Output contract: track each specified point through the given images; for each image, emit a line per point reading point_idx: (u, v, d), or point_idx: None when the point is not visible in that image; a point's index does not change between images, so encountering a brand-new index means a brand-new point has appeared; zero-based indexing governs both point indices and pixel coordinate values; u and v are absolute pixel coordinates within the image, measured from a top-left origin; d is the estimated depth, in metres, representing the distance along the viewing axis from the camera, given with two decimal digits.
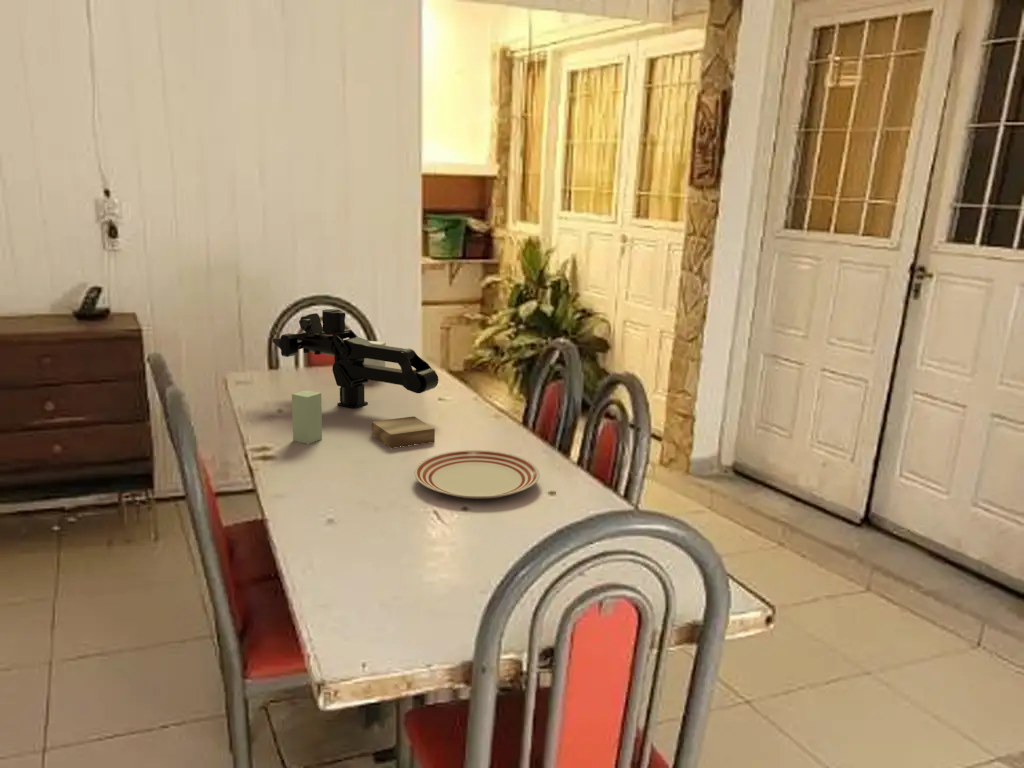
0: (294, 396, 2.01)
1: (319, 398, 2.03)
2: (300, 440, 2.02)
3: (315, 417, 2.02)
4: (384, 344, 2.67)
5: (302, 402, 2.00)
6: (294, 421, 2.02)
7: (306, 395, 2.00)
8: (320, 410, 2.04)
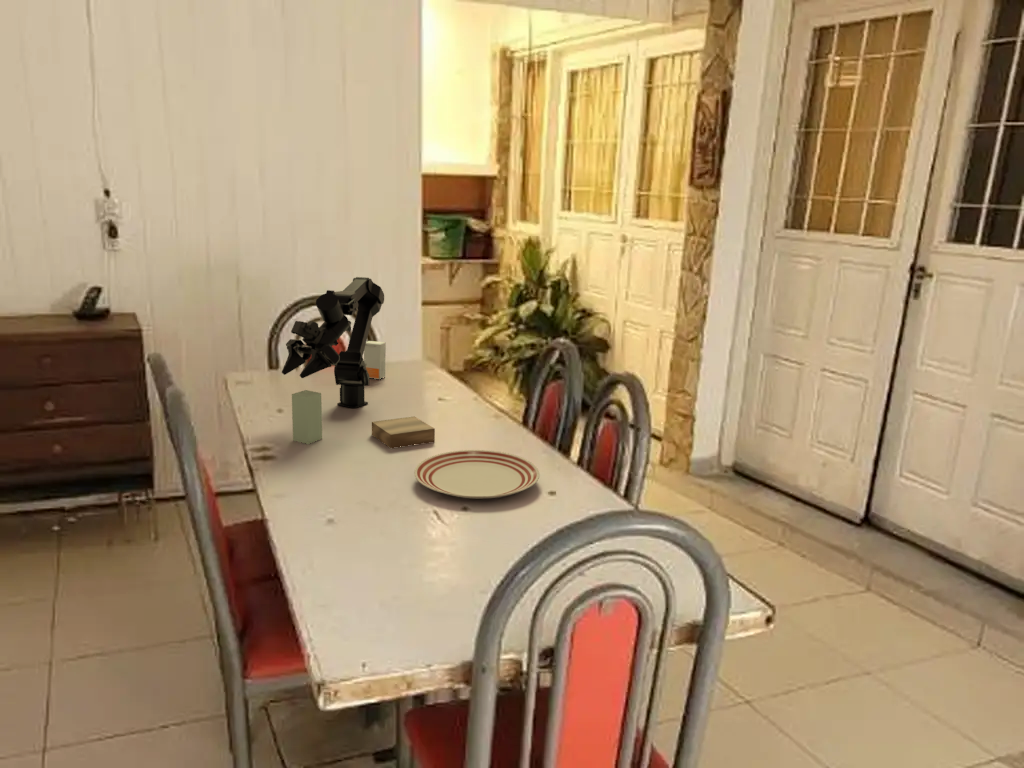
0: (294, 396, 2.01)
1: (319, 398, 2.03)
2: (300, 440, 2.02)
3: (315, 417, 2.02)
4: (384, 344, 2.67)
5: (302, 402, 2.00)
6: (294, 421, 2.02)
7: (306, 395, 2.00)
8: (320, 410, 2.04)
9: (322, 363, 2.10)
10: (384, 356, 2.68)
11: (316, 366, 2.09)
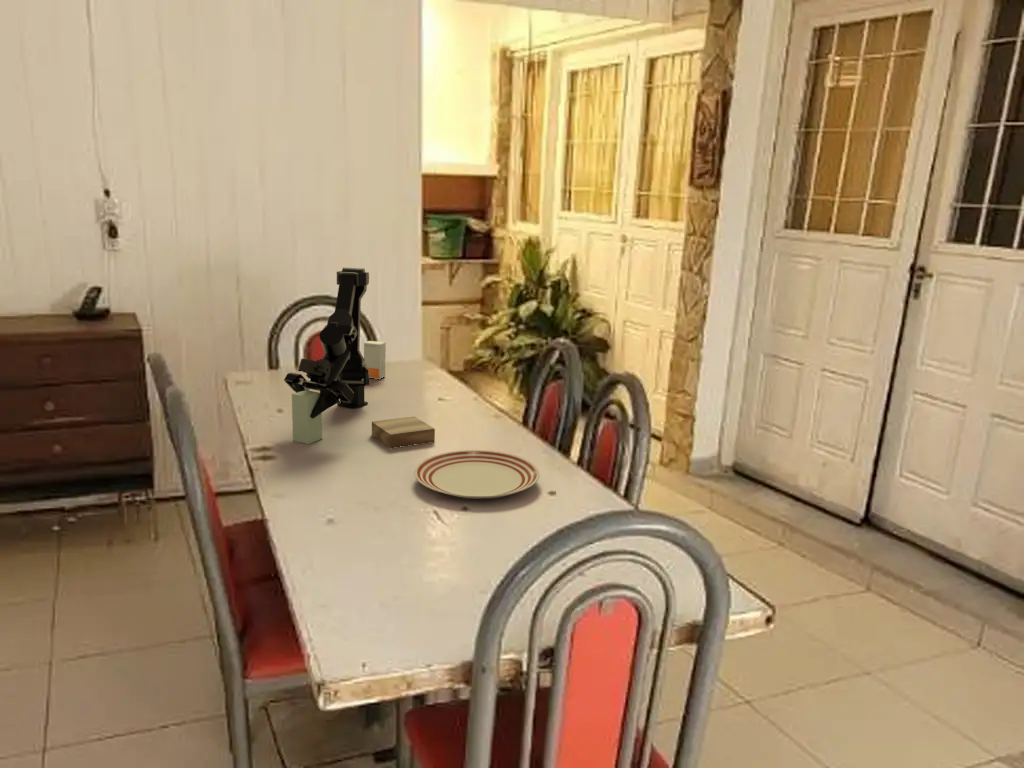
0: (294, 396, 2.01)
1: None
2: (300, 440, 2.02)
3: (315, 417, 2.02)
4: (384, 344, 2.67)
5: (302, 402, 2.00)
6: (294, 421, 2.02)
7: (306, 395, 2.00)
8: None
9: (330, 400, 2.04)
10: (384, 356, 2.68)
11: (325, 404, 2.03)
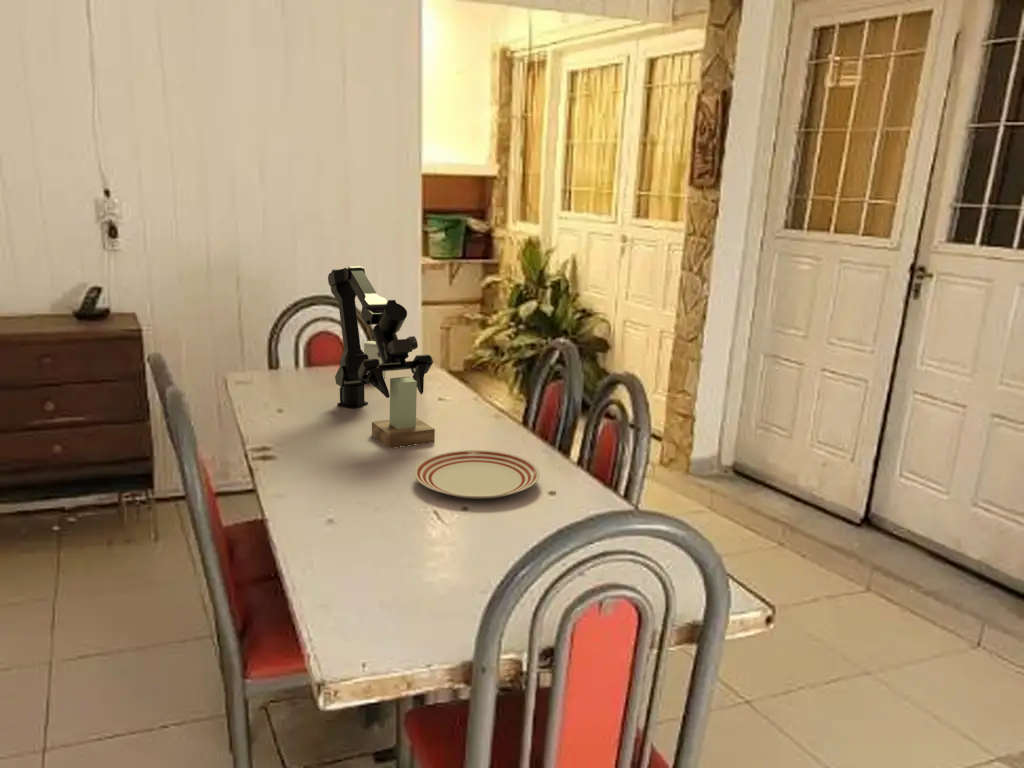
0: (401, 384, 2.02)
1: None
2: (406, 426, 2.06)
3: None
4: None
5: (410, 388, 2.04)
6: (400, 409, 2.04)
7: (410, 380, 2.04)
8: None
9: None
10: None
11: None
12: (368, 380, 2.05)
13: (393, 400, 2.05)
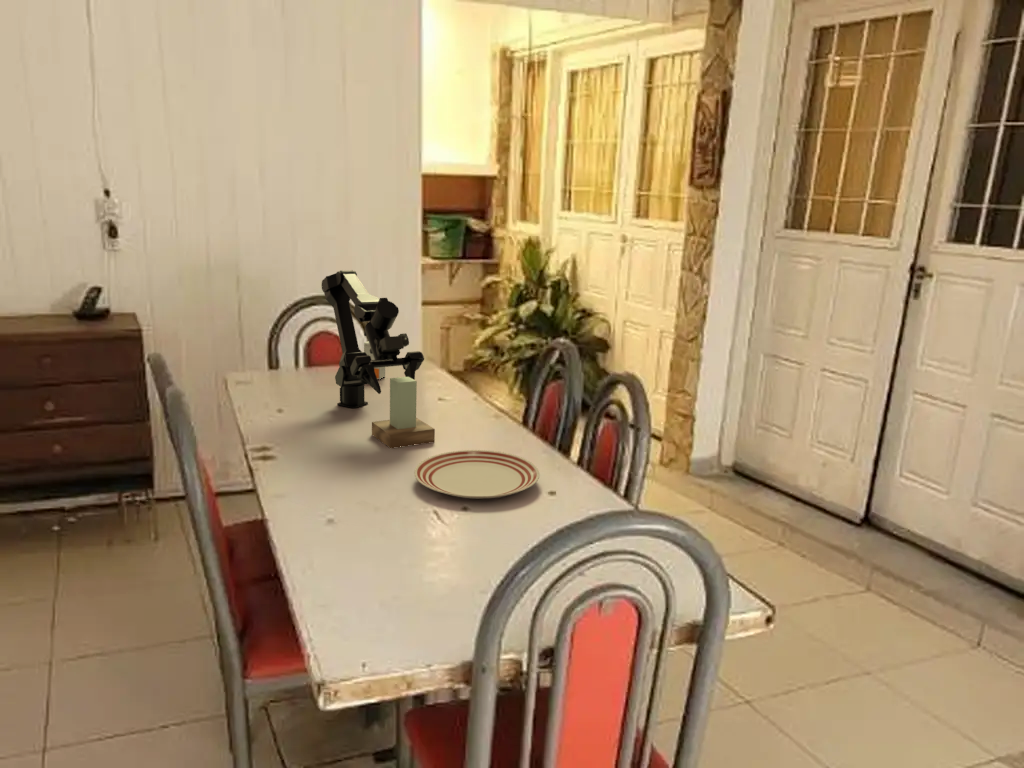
0: (401, 384, 2.02)
1: None
2: (406, 426, 2.06)
3: None
4: None
5: (410, 388, 2.04)
6: (400, 409, 2.04)
7: (410, 380, 2.04)
8: None
9: None
10: None
11: None
12: (360, 376, 2.09)
13: (393, 400, 2.05)
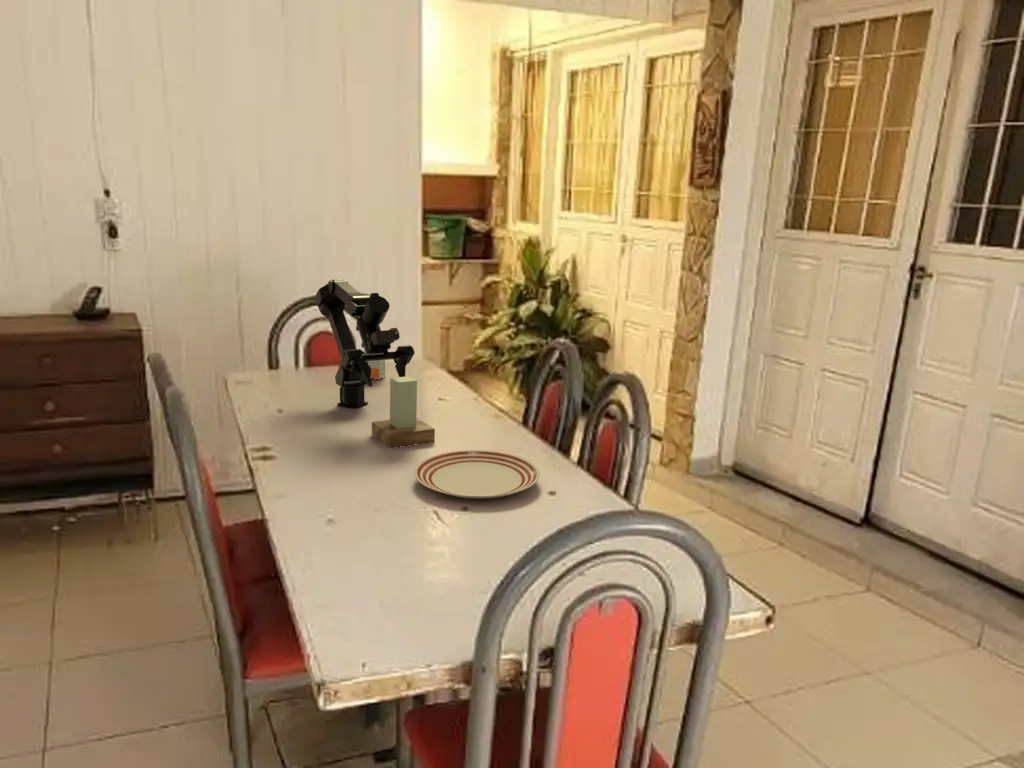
0: (401, 383, 2.02)
1: None
2: (407, 425, 2.06)
3: None
4: None
5: (410, 387, 2.04)
6: (400, 408, 2.04)
7: (410, 380, 2.05)
8: None
9: None
10: None
11: None
12: (352, 369, 2.14)
13: (393, 400, 2.05)
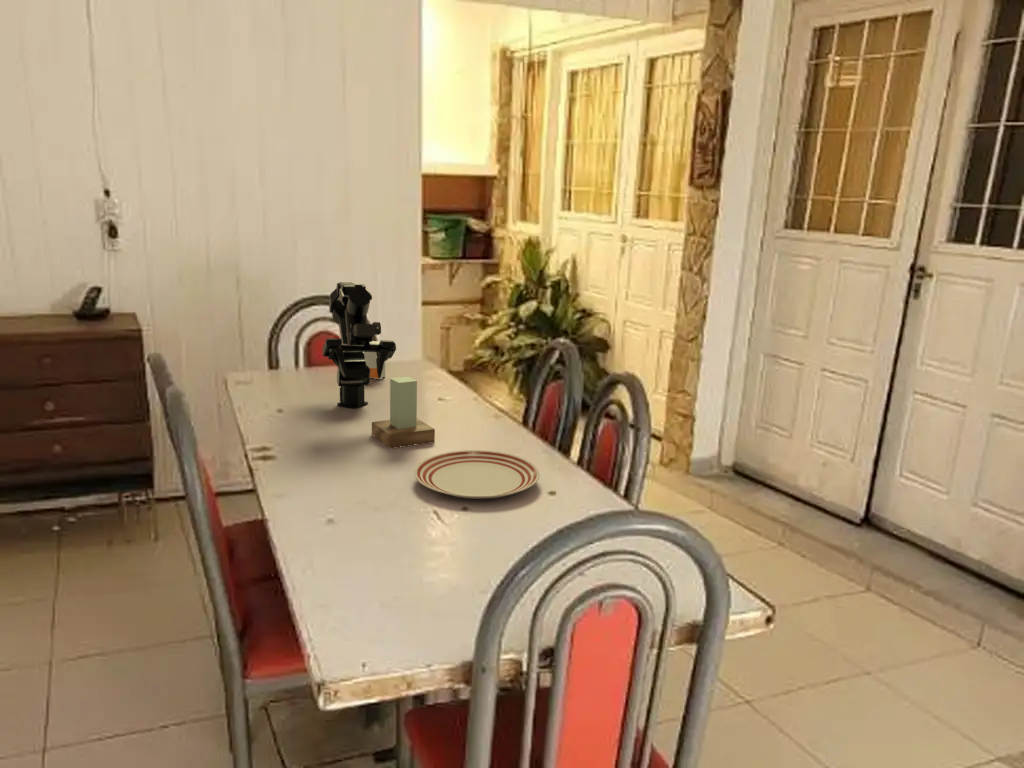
0: (401, 384, 2.02)
1: None
2: (407, 426, 2.06)
3: None
4: None
5: (410, 388, 2.04)
6: (400, 409, 2.04)
7: (410, 380, 2.04)
8: None
9: None
10: None
11: None
12: (330, 358, 2.16)
13: (393, 400, 2.05)
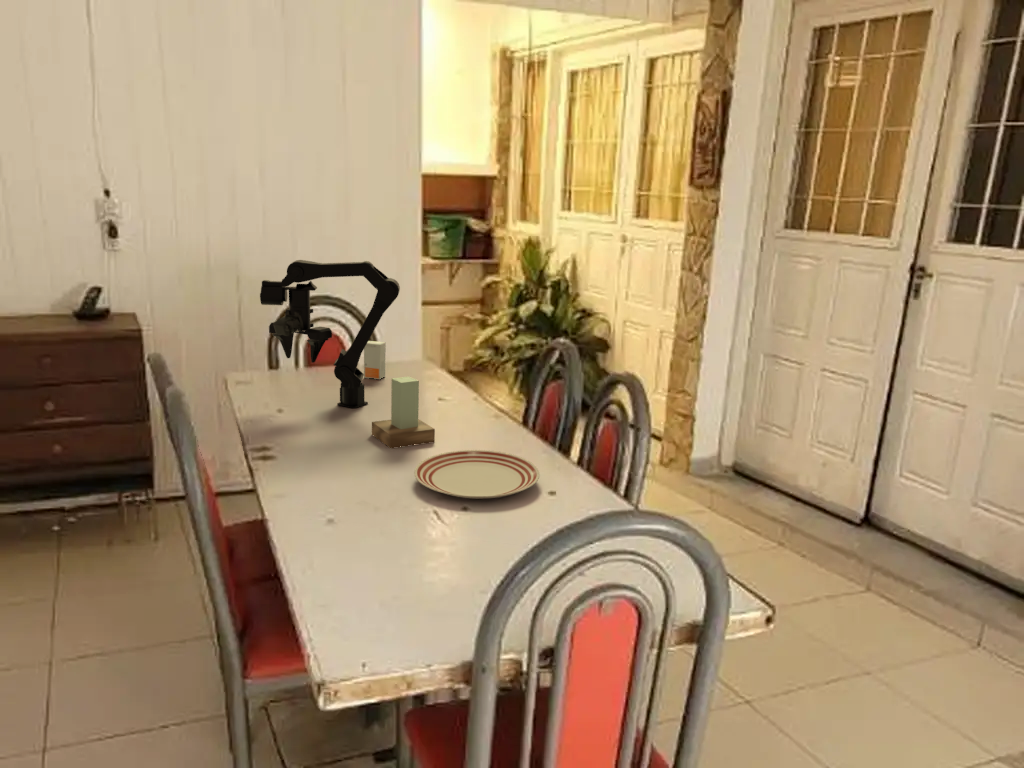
0: (404, 384, 2.02)
1: None
2: (409, 426, 2.06)
3: None
4: (384, 344, 2.67)
5: (412, 388, 2.04)
6: (403, 409, 2.04)
7: (412, 380, 2.05)
8: None
9: None
10: (384, 356, 2.68)
11: (318, 346, 2.30)
12: None
13: (395, 400, 2.05)
